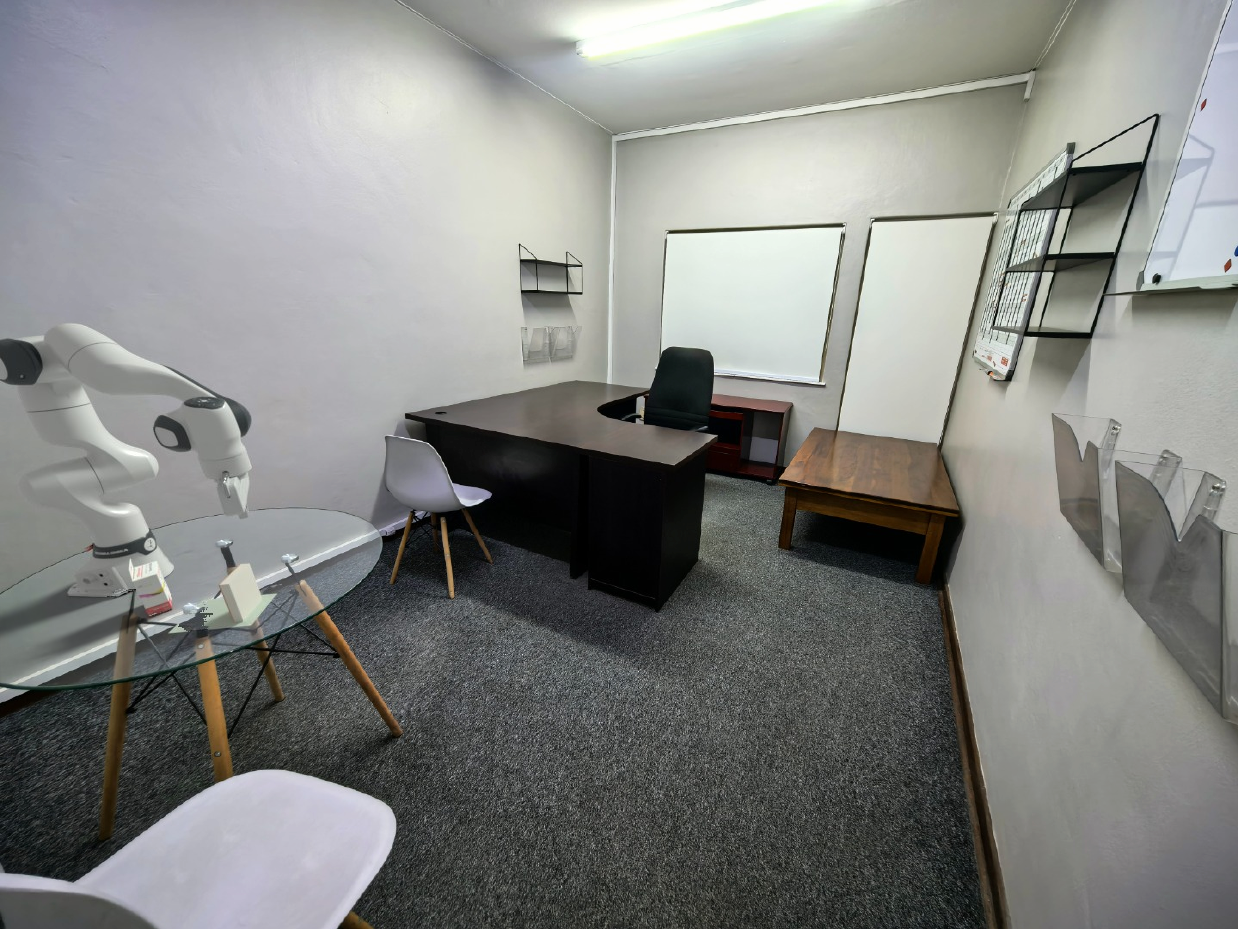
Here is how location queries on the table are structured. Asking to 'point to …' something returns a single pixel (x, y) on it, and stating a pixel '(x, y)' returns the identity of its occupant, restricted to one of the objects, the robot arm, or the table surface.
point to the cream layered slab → (240, 592)
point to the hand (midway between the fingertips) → (244, 516)
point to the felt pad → (226, 614)
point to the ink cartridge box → (151, 587)
